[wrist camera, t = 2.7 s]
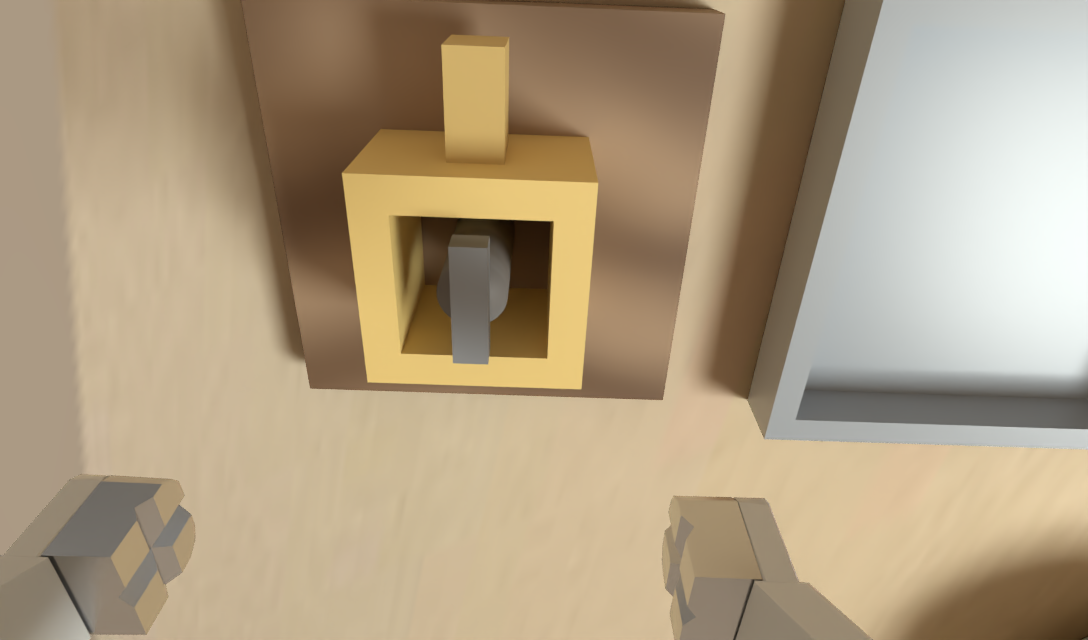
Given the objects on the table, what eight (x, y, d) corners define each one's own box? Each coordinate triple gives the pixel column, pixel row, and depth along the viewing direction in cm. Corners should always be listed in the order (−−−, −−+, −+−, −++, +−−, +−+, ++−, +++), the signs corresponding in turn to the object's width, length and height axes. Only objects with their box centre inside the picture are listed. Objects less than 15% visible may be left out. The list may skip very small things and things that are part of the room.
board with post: (657, 378, 27) (688, 503, 21) (321, 366, 27) (256, 490, 21) (713, 9, 20) (785, 39, 14) (259, -11, 20) (134, 12, 14)
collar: (575, 316, 24) (581, 389, 20) (396, 310, 24) (367, 382, 20) (596, 34, 19) (608, 59, 15) (371, 25, 19) (326, 47, 15)
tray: (1116, 412, 28) (1163, 451, 26) (747, 400, 28) (764, 439, 26) (1367, 0, 20) (1467, 7, 18) (850, -22, 20) (888, -17, 18)
